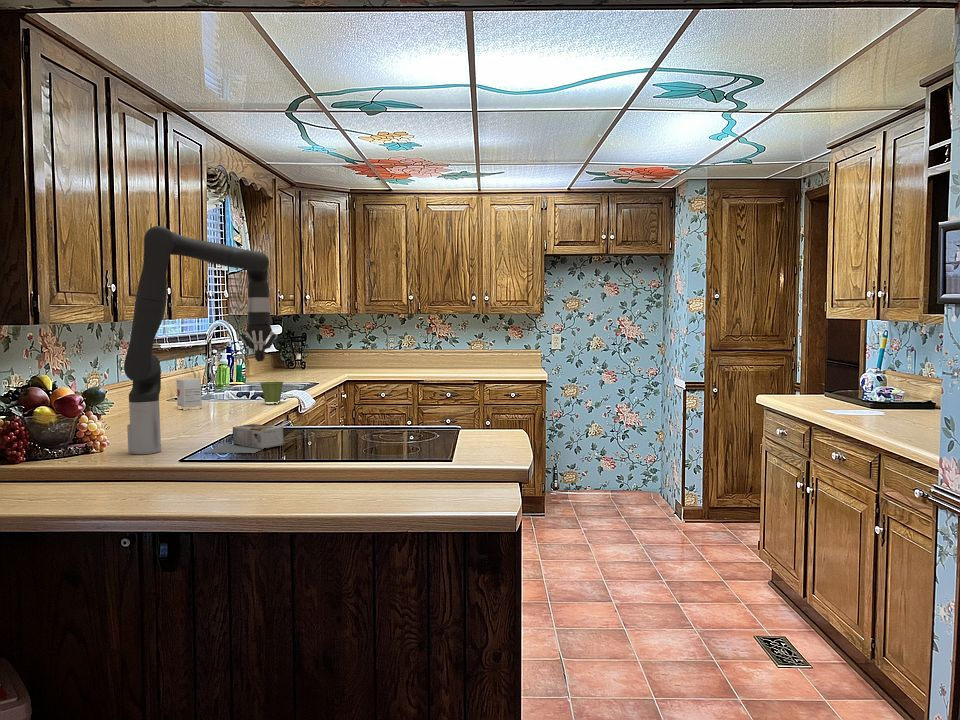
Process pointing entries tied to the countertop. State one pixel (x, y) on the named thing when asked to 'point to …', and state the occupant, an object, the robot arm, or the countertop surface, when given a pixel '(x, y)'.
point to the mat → (233, 449)
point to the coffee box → (258, 436)
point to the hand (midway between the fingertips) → (260, 361)
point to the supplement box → (189, 392)
